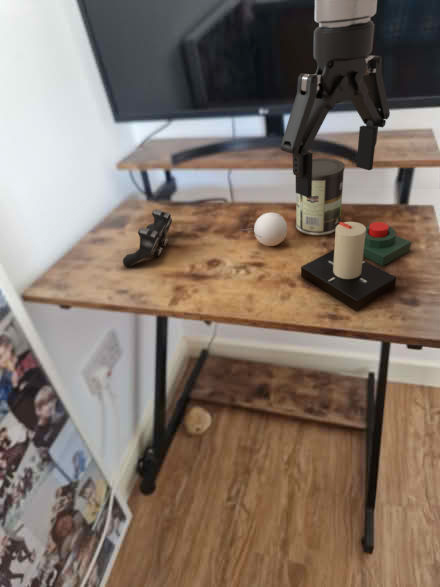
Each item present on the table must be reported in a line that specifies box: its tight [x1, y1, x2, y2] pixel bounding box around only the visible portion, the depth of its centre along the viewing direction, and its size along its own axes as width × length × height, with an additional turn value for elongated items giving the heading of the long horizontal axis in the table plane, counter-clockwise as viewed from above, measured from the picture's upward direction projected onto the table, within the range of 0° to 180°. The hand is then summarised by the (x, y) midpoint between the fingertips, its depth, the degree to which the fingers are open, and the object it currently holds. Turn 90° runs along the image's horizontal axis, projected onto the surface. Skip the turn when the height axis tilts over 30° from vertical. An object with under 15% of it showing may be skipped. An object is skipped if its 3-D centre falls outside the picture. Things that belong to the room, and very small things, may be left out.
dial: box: [333, 221, 366, 279], centre depth 72 cm, size 5×5×9 cm
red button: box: [369, 221, 390, 238], centre depth 81 cm, size 4×4×2 cm
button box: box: [363, 224, 412, 267], centre depth 83 cm, size 10×8×4 cm
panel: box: [300, 249, 398, 312], centre depth 75 cm, size 14×10×3 cm
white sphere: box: [242, 212, 288, 247], centre depth 89 cm, size 10×7×7 cm
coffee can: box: [295, 157, 346, 236], centre depth 91 cm, size 10×10×14 cm
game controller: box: [122, 209, 173, 268], centre depth 92 cm, size 16×7×10 cm, turn 167°
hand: (335, 180), depth 64 cm, fingers open, 13 cm apart
